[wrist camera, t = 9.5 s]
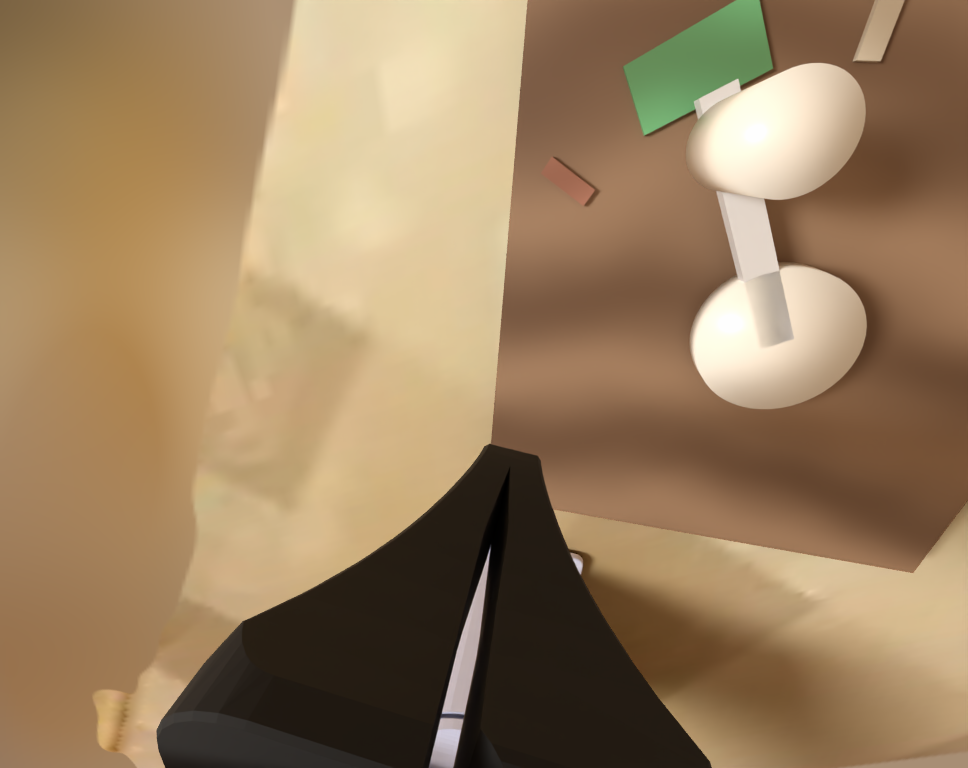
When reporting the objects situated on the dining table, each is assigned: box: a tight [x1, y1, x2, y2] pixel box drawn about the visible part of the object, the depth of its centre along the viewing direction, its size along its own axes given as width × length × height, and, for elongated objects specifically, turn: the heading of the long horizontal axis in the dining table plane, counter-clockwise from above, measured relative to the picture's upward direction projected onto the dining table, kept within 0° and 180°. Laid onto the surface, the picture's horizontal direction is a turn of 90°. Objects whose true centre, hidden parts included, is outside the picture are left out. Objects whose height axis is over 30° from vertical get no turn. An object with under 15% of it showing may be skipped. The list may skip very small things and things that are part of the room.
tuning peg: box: [686, 63, 867, 409], centre depth 12 cm, size 10×5×5 cm, turn 26°
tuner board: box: [491, 0, 968, 573], centre depth 16 cm, size 20×19×2 cm
